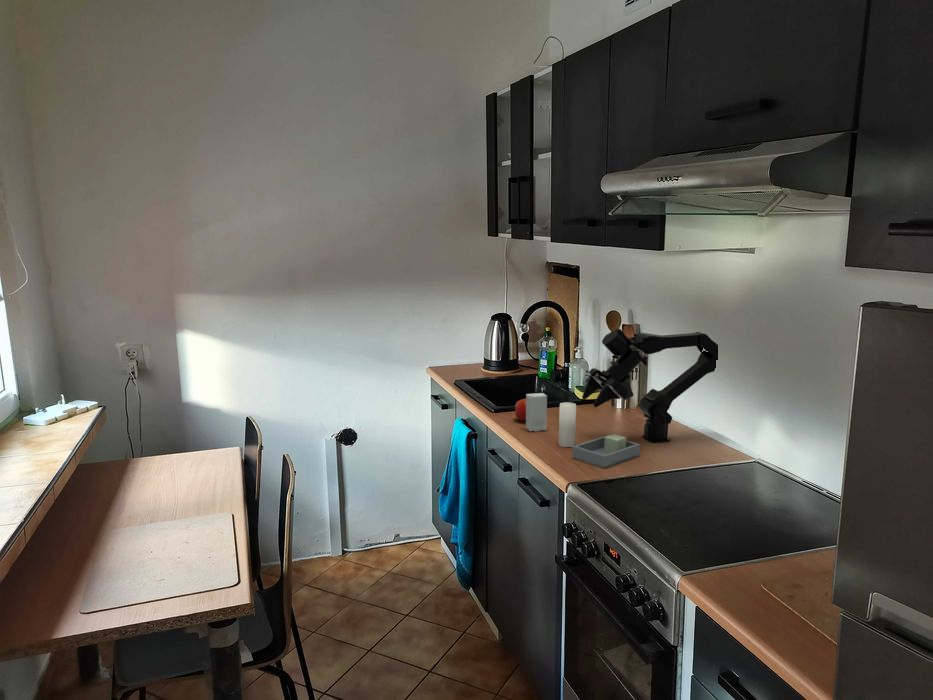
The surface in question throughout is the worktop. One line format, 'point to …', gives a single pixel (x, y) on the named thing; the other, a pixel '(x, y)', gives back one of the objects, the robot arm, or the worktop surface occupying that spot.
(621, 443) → the green cube
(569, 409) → the white cylinder
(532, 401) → the skincare box
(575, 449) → the tote
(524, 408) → the apple
